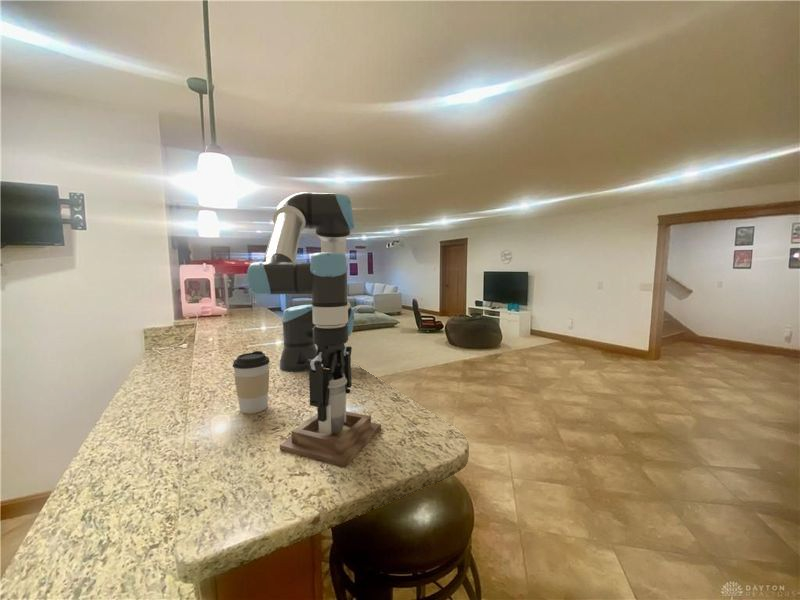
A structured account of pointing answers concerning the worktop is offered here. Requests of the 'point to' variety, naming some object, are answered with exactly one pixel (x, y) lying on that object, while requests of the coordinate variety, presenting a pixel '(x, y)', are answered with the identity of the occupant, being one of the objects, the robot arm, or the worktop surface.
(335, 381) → the cup
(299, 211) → the robot arm
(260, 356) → the coffee cup
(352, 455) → the holder
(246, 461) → the worktop surface
